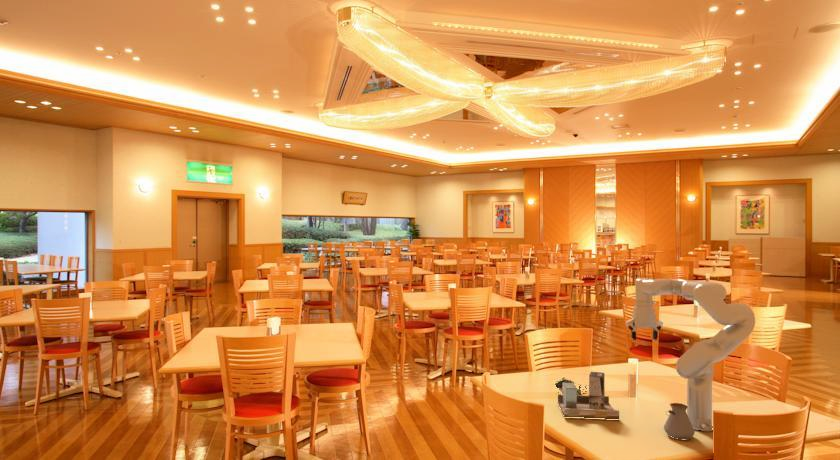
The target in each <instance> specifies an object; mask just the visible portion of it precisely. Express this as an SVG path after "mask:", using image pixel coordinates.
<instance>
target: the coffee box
mask: <svg viewBox="0 0 840 460" xmlns="http://www.w3.org/2000/svg"><path fill="white" fill-rule="evenodd" d="M588 386H589V391H588V396H589V409H604V407H605V396H606V393H605V372H599V371H598V372H597V371H590V372H589V375H588Z"/></svg>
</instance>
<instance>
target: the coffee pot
mask: <svg viewBox="0 0 840 460" xmlns="http://www.w3.org/2000/svg"><path fill="white" fill-rule="evenodd" d="M669 407H671V410H670V409H669V410H666V411H665V415H666V416H668V417H667V419H666V421H665V423H664V426H663V430H664V432H665V433H666V434H667V435H668V436H669V435H670V436H672V437H674V438H678V439H688V440H690V439H691V438H692V437H693V436H694V435H695V433H696V430H694V429H693V427H692V424H691V422H690V420H689V418H688V415H687V408H688V407H687V404H683V403H679V402H673V403H669ZM667 412H668V413H669V414H667ZM670 436H669V437H670ZM672 437H671V438H672ZM674 438H673V439H674ZM689 438H690V439H689ZM678 439H677V440H678Z"/></svg>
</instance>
